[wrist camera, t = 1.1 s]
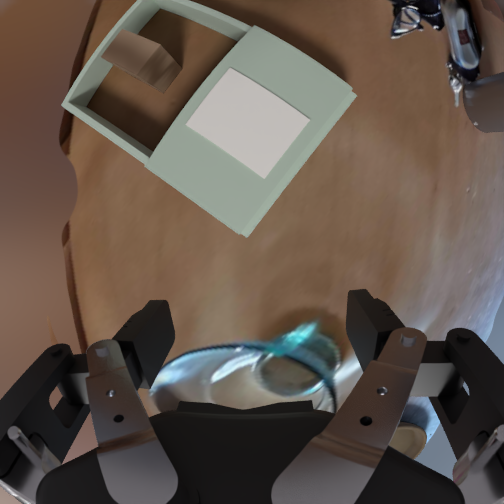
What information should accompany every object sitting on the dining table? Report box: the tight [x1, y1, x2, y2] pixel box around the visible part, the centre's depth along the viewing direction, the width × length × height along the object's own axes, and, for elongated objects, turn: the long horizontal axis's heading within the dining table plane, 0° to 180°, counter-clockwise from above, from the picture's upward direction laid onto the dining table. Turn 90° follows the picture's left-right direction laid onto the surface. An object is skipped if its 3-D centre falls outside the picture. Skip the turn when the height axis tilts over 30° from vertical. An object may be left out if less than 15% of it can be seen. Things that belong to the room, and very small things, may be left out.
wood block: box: [101, 29, 182, 94], centre depth 28 cm, size 4×7×9 cm, turn 54°
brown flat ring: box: [389, 422, 427, 460], centre depth 49 cm, size 31×31×5 cm
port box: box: [61, 0, 357, 238], centre depth 30 cm, size 22×34×6 cm, turn 54°
